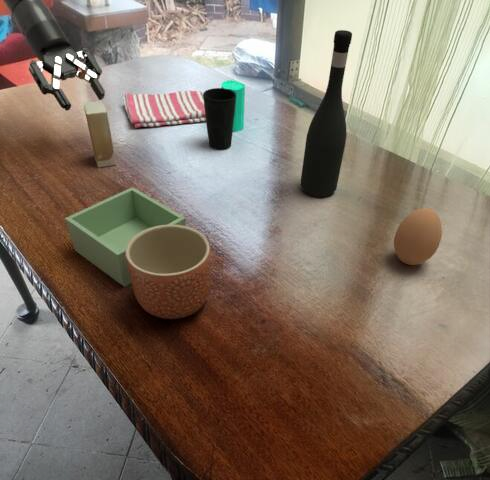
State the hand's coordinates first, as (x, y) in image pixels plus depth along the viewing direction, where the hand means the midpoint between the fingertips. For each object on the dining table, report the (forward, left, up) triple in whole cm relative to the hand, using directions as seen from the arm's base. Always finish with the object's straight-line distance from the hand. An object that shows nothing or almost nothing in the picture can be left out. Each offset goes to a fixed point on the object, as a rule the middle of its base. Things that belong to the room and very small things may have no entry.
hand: (86, 103), depth 98 cm
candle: (+35, -11, -12) cm, 39 cm away
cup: (+25, -16, -12) cm, 32 cm away
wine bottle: (+25, -46, -12) cm, 54 cm away
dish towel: (+29, +7, -12) cm, 32 cm away
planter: (-21, -50, -12) cm, 56 cm away
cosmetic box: (0, -3, -12) cm, 13 cm away
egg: (+16, -73, -12) cm, 76 cm away
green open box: (-17, -34, -12) cm, 40 cm away
